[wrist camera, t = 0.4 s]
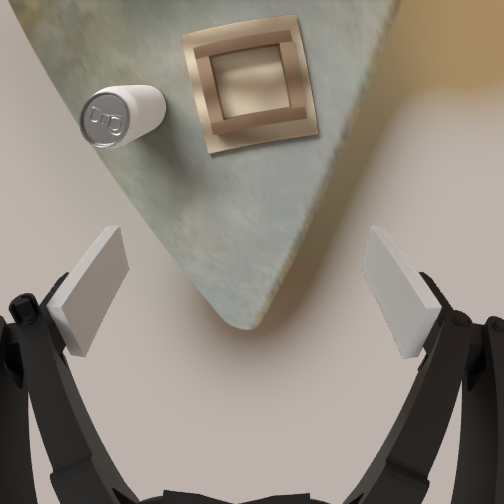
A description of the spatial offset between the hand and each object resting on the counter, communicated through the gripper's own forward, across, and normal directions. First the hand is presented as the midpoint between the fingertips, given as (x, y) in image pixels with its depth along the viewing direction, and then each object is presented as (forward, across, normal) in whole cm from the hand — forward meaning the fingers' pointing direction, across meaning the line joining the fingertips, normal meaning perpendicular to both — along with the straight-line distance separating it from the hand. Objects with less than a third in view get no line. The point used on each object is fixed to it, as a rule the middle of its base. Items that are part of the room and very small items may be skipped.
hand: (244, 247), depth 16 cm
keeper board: (+26, 0, +8) cm, 27 cm away
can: (+26, -13, +6) cm, 30 cm away
